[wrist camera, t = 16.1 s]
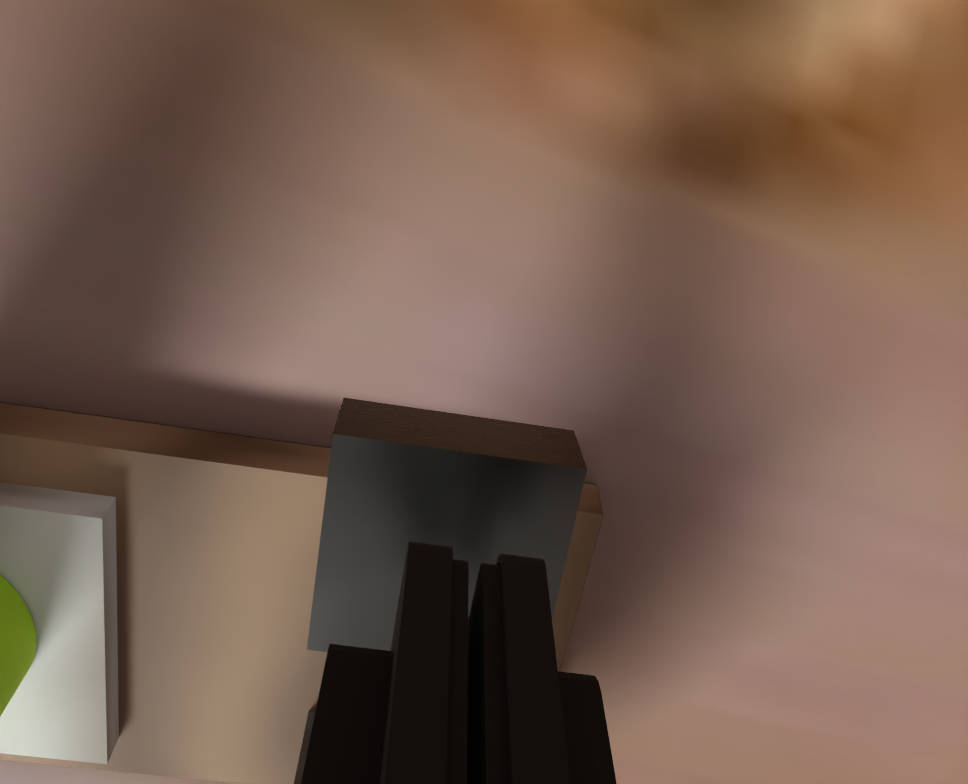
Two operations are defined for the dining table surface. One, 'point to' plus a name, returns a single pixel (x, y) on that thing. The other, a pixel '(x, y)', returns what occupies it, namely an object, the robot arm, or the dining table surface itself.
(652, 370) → the dining table surface
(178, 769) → the base
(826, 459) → the dining table surface
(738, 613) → the dining table surface
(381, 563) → the lever
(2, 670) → the soap dispenser
